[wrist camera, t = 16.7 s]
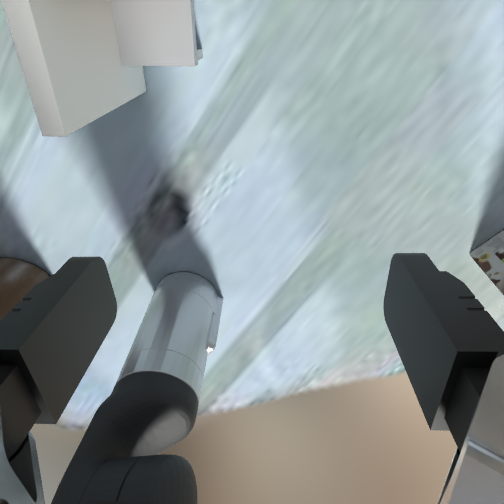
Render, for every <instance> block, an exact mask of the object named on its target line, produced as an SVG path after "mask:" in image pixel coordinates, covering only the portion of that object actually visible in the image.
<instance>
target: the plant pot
mask: <svg viewBox="0 0 504 504" xmlns="http://www.w3.org/2000/svg"><path fill="white" fill-rule="evenodd" d="M48 277H49V275H48V274H47V273H46V272H44V271H43V270H42V269H40V268H38V267H37V266H35V265H33V264H30V263H28V262H25V261H22V260H19V259H13V258H0V321H1V320H2V319H3V318H4V317H5V316H6V315H7V313H8V312H12V308H13V307H14V306H15V305H16V304H17V303H18V302H19V301H22V300H23V297H24V296H25V295H26V294H27V293H28V292H29V291H30V290H31V289H32V288H33V287H34V286H35V285H37V284H38V283H40V282H42V281H43V280H45V279H47V278H48Z"/></svg>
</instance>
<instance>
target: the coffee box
mask: <svg viewBox="0 0 504 504" xmlns="http://www.w3.org/2000/svg"><path fill="white" fill-rule="evenodd" d="M470 256H471V257H472V258H473V259H474V261H475V262H476V263H477V264H478V265H479V267H480V268H481V269H482V270H483V271H484V273H485V274H486V275H487V276H488V277H489V278H490V280H491V281H492V282H493V283H494V284H495V286H496V287H497V288H498V289H499V290H500V292H501V293H502V294H503V295H504V230H503V231H501V232H500V233H498V234H497V235H495V236H494V237H493V238H491V239H490V240H488V241H487V242H485V243H484V244H482V245H481V246H479V247H478V248H476V249H475V250H473V251H472V252H471V253H470Z"/></svg>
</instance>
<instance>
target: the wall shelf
mask: <svg viewBox="0 0 504 504" xmlns="http://www.w3.org/2000/svg"><path fill="white" fill-rule="evenodd" d="M1 2H2V5H3V8H4V12H5V15H6V18H7V21H8V25H9V28H10V31H11V34H12V38H13V41H14V44H15V47H16V51H17V54H18V57H19V61H20V64H21V67H22V70H23V74H24V77H25V80H26V83H27V87H28V90H29V93H30V96H31V100H32V103H33V106H34V110H35V113H36V116H37V119H38V123H39V126H40V129H41V132H42V136H58V137H66V136H68V135H69V134H71V133H73V132H75V131H77V130H78V129H80V128H82V127H84V126H85V125H87V124H89V123H91V122H93V121H94V120H96V119H98V118H100V117H102V116H103V115H105V114H107V113H109V112H110V111H112V110H114V109H116V108H118V107H119V106H121V105H123V104H125V103H126V102H128V101H130V100H132V99H134V98H135V97H137V96H139V95H141V94H143V93H144V92H146V85H145V78H144V71H143V66H196V65H198V60H200V59H202V58H203V56H202V49H197V45H196V30H195V15H194V0H1Z"/></svg>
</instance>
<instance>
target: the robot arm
mask: <svg viewBox="0 0 504 504" xmlns="http://www.w3.org/2000/svg"><path fill="white" fill-rule="evenodd" d="M222 304H223V299H222V298H220V297H219V296H218V295H217V293H216V291H215V288H214V287H213V286H212V284H211V283H210V282H208V281H207V280H206V279H204V278H203V277H201V276H199V275H196V274H193V273H189V272H177V273H173V274H170V275H168V276H166V277H164V278H163V279H162V280H161V281H160V282H159V284H158V285H157V288H156V290H155V292H154V294H153V296H152V299H151V302H150V304H149V306H148V309H147V311H146V314H145V316H144V318H143V321H142V323H141V325H140V328H139V330H138V333H137V335H136V337H135V340H134V342H133V345H132V347H131V349H130V352H129V354H128V356H127V359H126V361H125V364H124V366H123V368H122V371H121V373H120V375H119V378H118V380H117V383H116V385H115V387H114V389H113V391H112V394H111V395H110V396H109V397H108V398H107V399H106V400H105V401H104V402H103V403H102V404H101V405H100V407H99V408H98V410H97V411H96V413H95V415H94V417H93V419H92V421H91V423H90V425H89V427H88V429H87V431H86V433H85V435H84V437H83V439H82V441H81V443H80V445H79V447H78V449H77V450H76V452H75V454H74V456H73V458H72V460H71V462H70V464H69V466H68V468H67V470H66V472H65V474H64V476H63V478H62V480H61V483H60V484H59V486H58V489H57V491H56V493H55V496H54V498H53V500H52V503H51V504H197V486H196V481H195V475H194V472H193V469H192V467H191V465H190V464H189V462H188V461H187V460H186V459H184V458H183V457H180V456H177V455H156V454H158V453H159V452H161V451H163V450H165V449H166V448H168V447H170V446H172V445H174V444H176V443H178V442H179V441H181V440H182V439H184V438H185V437H186V436H187V435H188V434H189V432H190V431H191V430H192V428H193V426H194V423H195V419H196V415H197V410H198V403H199V398H200V393H201V387H202V382H203V376H204V371H205V365H206V360H207V356H208V355H209V354H210V353H211V352H212V351H213V350H214V349H215V346H216V340H217V334H218V328H219V322H220V316H221V310H222ZM116 313H117V303H116V298H115V295H114V291H113V288H112V284H111V281H110V278H109V274H108V271H107V267H106V264H105V262H104V260H103V259H102V258H101V257H72V258H70V259H69V260H68V261H67V262H66V263H65V264H64V265H63V266H62V267H61V268H60V269H59V270H58V271H57V272H56V273H55V274H54V275H51V276H50V277H48V278H47V279H45V280H43V281H42V282H40V283H38V284H37V285H35V286H34V287H33V288H32V289H31V290H30V291H29V292H28V293H27V294H26V295H25V296H24V297H23V300H22V301H19V302H18V303H17V304H16V305H15V306H14V307H13V308H12V312H8V313H7V315H6V316H5V317H4V318H3V319H2V320H1V321H0V504H45V501H44V494H43V488H42V481H41V475H40V469H39V463H38V457H37V450H36V443H35V439H34V437H33V435H32V433H31V432H30V430H31V428H32V427H33V425H34V424H35V423H37V424H56V423H57V421H58V420H59V418H60V416H61V414H62V413H63V411H64V409H65V407H66V406H67V404H68V402H69V400H70V399H71V397H72V395H73V393H74V392H75V390H76V388H77V386H78V385H79V383H80V381H81V379H82V378H83V376H84V374H85V372H86V371H87V369H88V367H89V365H90V364H91V362H92V360H93V358H94V357H95V355H96V353H97V351H98V350H99V348H100V346H101V344H102V343H103V341H104V339H105V337H106V335H107V334H108V332H109V330H110V328H111V327H112V325H113V323H114V321H115V318H116ZM384 316H385V320H386V323H387V326H388V328H389V331H390V333H391V336H392V338H393V340H394V343H395V345H396V348H397V350H398V353H399V355H400V357H401V360H402V362H403V365H404V367H405V370H406V372H407V374H408V377H409V379H410V382H411V384H412V386H413V389H414V391H415V394H416V396H417V398H418V401H419V404H420V406H421V408H422V411H423V413H424V416H425V418H426V421H427V423H428V425H429V428H430V430H450V432H451V433H452V436H453V438H454V440H455V442H456V444H457V449H456V451H455V454H454V457H453V459H452V462H451V465H450V468H449V471H448V474H447V476H446V479H445V482H444V485H443V488H442V491H441V493H440V496H439V499H438V502H437V504H504V332H503V330H502V329H501V328H500V327H499V325H498V324H497V323H496V322H495V321H494V319H493V318H492V317H491V316H490V314H489V313H488V312H487V311H484V307H483V306H482V304H481V303H480V302H479V301H478V299H475V296H474V295H473V293H472V292H471V291H470V290H469V288H468V287H467V286H466V285H465V283H463V282H462V281H460V280H459V279H457V278H456V277H454V276H453V275H451V274H450V273H448V272H447V271H439V270H438V269H437V268H436V266H435V265H434V264H433V262H432V261H431V260H430V258H429V257H428V256H427V254H425V253H396V254H394V255H393V257H392V260H391V264H390V270H389V275H388V281H387V286H386V292H385V297H384Z"/></svg>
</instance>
